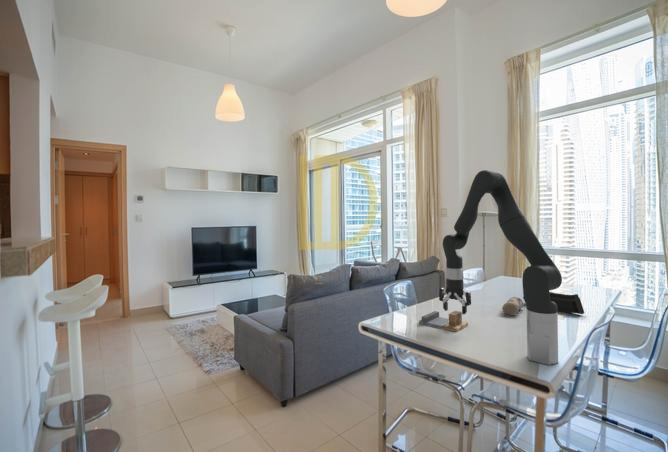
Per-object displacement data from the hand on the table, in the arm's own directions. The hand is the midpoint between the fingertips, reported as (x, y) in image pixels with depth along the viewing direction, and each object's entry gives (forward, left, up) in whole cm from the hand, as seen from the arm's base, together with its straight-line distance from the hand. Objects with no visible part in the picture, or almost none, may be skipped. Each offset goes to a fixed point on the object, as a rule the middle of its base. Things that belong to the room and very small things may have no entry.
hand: (454, 312), depth 149 cm
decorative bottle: (+47, -13, -7) cm, 49 cm away
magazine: (+62, -26, -7) cm, 67 cm away
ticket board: (0, +9, -7) cm, 12 cm away
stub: (0, 0, -7) cm, 7 cm away
